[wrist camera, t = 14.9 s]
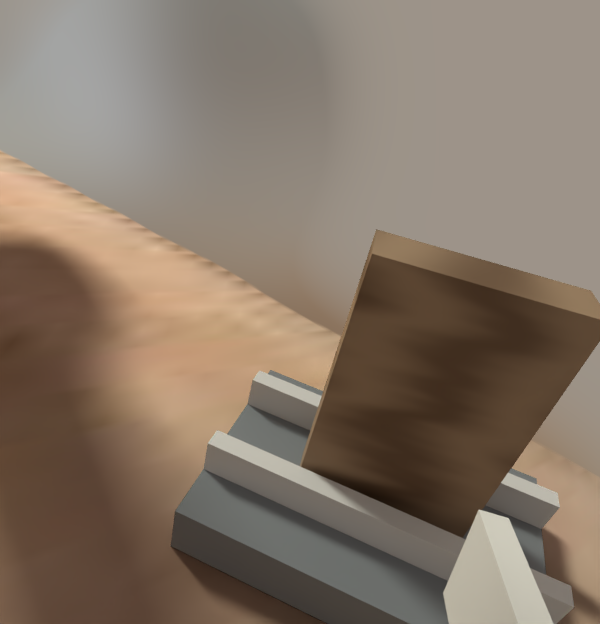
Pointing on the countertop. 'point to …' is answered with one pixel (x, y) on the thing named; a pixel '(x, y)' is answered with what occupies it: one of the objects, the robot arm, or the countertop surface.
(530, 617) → the robot arm
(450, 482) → the walnut photo frame
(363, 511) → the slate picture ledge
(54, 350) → the countertop surface
